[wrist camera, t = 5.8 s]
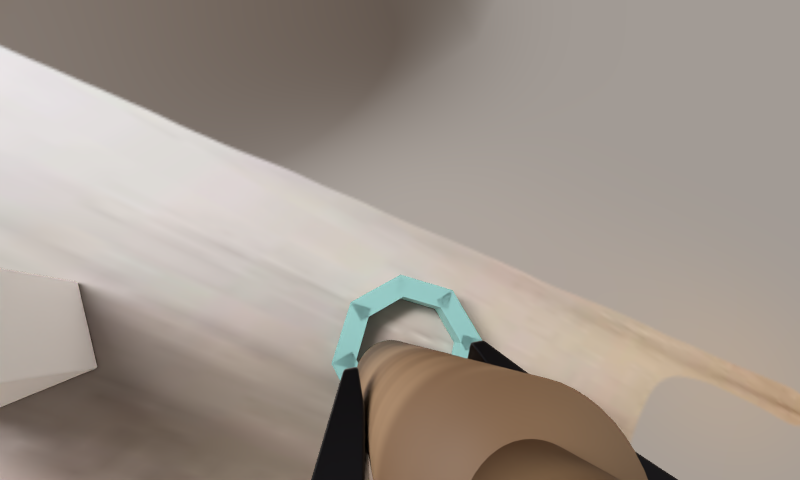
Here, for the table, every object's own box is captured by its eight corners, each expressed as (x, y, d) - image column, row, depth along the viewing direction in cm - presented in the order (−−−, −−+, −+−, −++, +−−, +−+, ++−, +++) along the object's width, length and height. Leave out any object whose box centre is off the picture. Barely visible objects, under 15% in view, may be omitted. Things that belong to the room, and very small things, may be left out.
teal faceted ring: (479, 302, 24) (488, 300, 23) (456, 440, 21) (464, 448, 20) (361, 267, 23) (362, 263, 22) (318, 406, 20) (316, 412, 19)
